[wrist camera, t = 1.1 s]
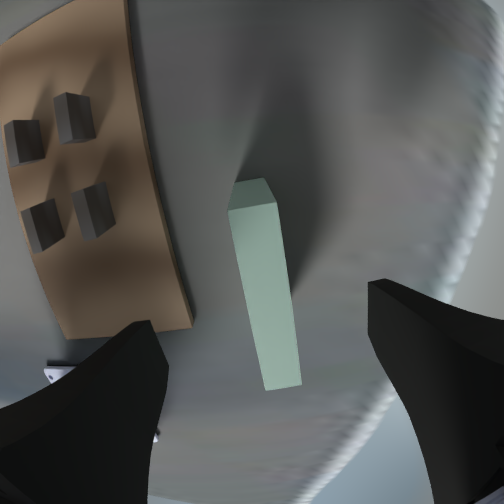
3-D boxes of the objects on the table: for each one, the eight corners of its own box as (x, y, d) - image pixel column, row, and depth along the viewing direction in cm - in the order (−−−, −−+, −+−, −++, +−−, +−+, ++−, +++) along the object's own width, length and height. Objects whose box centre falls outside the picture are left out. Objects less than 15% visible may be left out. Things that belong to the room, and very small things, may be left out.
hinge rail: (194, 321, 19) (186, 353, 16) (71, 333, 20) (51, 360, 16) (126, -15, 12) (105, -39, 9) (4, 49, 12) (-26, 42, 9)
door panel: (284, 306, 19) (301, 384, 13) (259, 310, 19) (265, 390, 13) (263, 177, 16) (276, 202, 10) (234, 182, 16) (227, 211, 10)
